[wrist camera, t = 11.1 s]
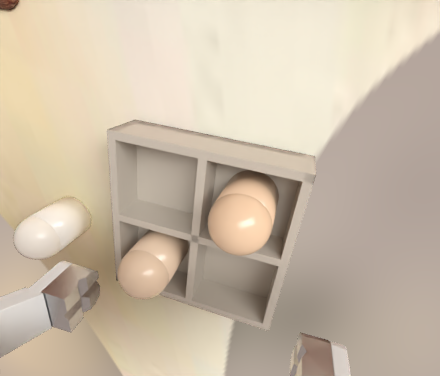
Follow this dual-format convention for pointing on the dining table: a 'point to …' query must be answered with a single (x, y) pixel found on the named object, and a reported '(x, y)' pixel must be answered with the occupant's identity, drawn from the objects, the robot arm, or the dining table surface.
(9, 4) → the brown flat tapered piece
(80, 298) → the robot arm
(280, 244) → the carton
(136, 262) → the seated egg
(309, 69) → the dining table surface
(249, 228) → the brown egg
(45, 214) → the white egg
